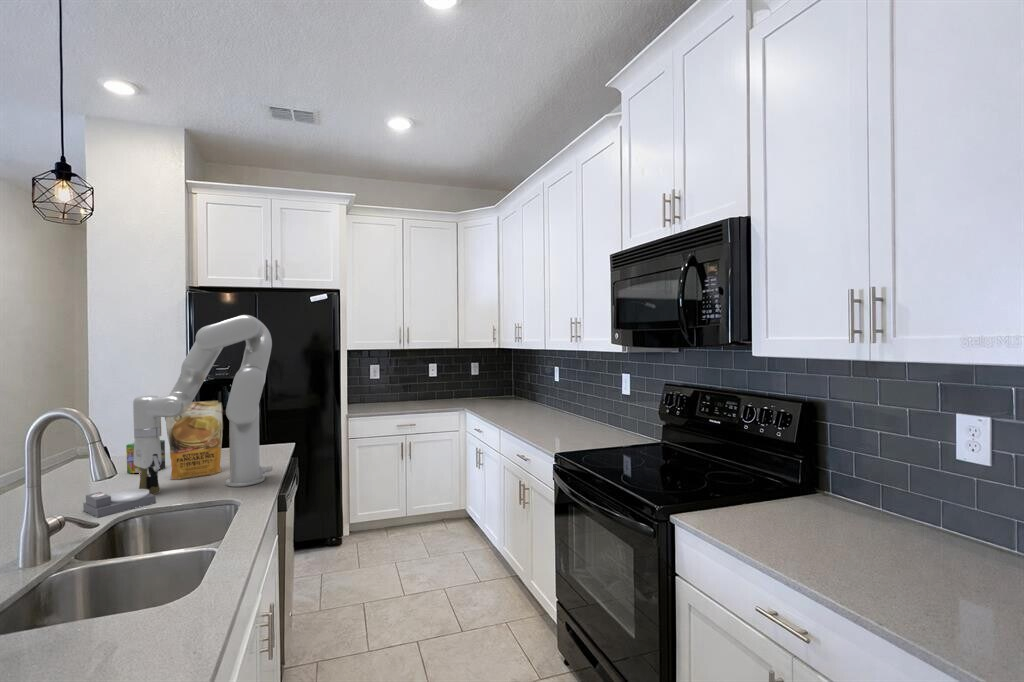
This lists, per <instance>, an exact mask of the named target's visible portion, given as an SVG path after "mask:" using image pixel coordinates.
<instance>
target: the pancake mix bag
mask: <svg viewBox="0 0 1024 682" xmlns="http://www.w3.org/2000/svg"><path fill="white" fill-rule="evenodd" d="M223 411H224V409H223V403H222V402H219V400H214V399H213V400H205V401H204V400H203V401H192V403H191V404H190V406H189V408H188V409H187V410H186V411H184V412H183V413H182V414H180V415H179V416H176V417H164V420H165V425H166V426H165V427H166V434H167V435H166V436H167V439H168V445H169V457H170V462H171V473H170V477H169V480H178V479H179V480H184V479H183V478H187V479H191V478H190V477H194V478H198V477H197V476H200V477H206V476H205V475H208V476H212V475H211V474H213V475H216V474H218V473H222V469H221V458H222V445H223V430H224V420H223V419H224V418H223V416H224V415H223ZM175 478H176V479H175Z"/></svg>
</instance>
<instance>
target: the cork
mask: <svg viewBox="0 0 1024 682" xmlns="http://www.w3.org/2000/svg"><path fill="white" fill-rule="evenodd" d="M150 467H153V465H151V466H150ZM139 469H140V471H141V477H140V476H139V478H140V479H139V486H138V489H147V488H146V477H148V476H147V469H144V468H141V467H139ZM151 470H152V469H150V472H151ZM148 490H149V493H151V494H153V495H155V494H154V493H156V494H158V493H157V492H159V491H160V492H161V490H160V484H159V482H158V487H151V488H150V489H148ZM160 492H159V493H160Z"/></svg>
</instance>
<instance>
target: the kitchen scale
mask: <svg viewBox="0 0 1024 682" xmlns="http://www.w3.org/2000/svg"><path fill="white" fill-rule="evenodd" d="M156 500H157V496H156V494H151V493H149V490H148V489H139V488H133V489H127V490H126V489H125V490H120V491H117V492H112V493H110V494H106V493H103V492H101V491H99V492H94V493H90V494H86V495H85V502H83V507H82V508H83V512H85V513H87V512H88V513H87V514H89V513H90V514H89V515H91V514H92V516H93V515H95V516H97V517H98V518H101V517H100V516H102V517H105V516H104V515H106V516H109V515H108V514H110V515H113V513H114V514H117V513H116V512H118V513H121V512H120V511H122V512H124V510H126V511H129V510H128V509H130V510H132V509H131V508H134V509H136V508H135V507H138V508H140V507H139V506H142V507H144V506H143V505H145V506H148V504H149V505H152V504H151V503H153V504H156V503H157V501H156ZM155 502H156V503H155ZM95 516H94V517H95ZM97 517H96V518H97Z"/></svg>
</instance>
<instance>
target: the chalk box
mask: <svg viewBox="0 0 1024 682" xmlns="http://www.w3.org/2000/svg"><path fill="white" fill-rule="evenodd" d="M160 443H161V455H162V461H161V465H160V469H162V468H165V469H166V440H164V439H160ZM125 448H126V472H127V473H140V469H139V467H137V466H135V465H134V442H132V443H128V444H126V447H125ZM162 470H163V469H162ZM127 473H126V474H127Z"/></svg>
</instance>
